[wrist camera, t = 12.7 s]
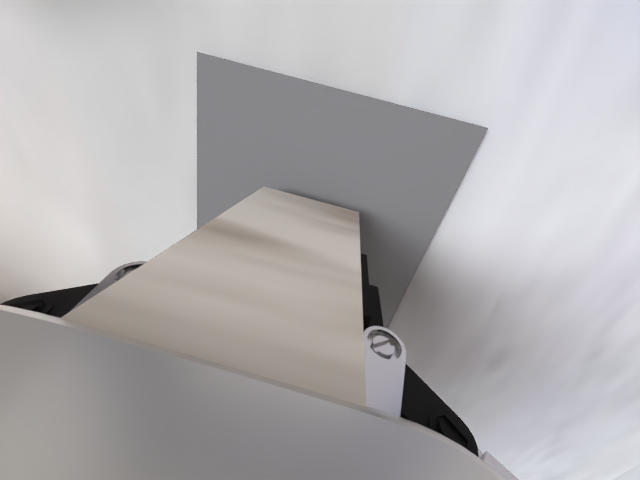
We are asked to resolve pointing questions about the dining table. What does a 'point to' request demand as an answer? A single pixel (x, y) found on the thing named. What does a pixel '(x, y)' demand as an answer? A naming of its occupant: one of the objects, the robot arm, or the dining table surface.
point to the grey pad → (331, 160)
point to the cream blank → (253, 295)
